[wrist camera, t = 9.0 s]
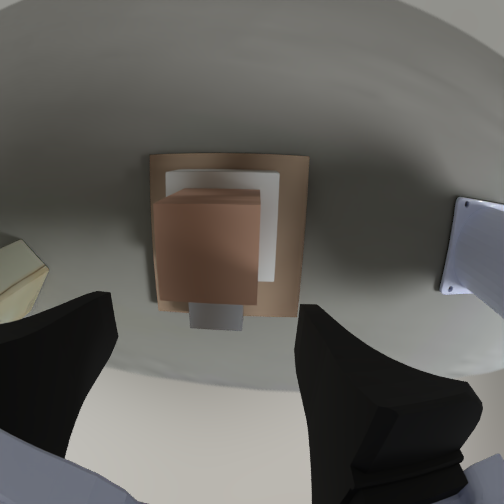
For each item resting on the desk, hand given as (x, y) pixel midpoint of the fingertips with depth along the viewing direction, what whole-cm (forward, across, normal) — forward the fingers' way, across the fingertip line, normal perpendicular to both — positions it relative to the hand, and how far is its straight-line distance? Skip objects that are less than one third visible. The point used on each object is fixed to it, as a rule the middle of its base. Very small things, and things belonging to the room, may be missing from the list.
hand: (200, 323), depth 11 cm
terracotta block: (+6, 0, -2) cm, 7 cm away
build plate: (+10, 0, 0) cm, 10 cm away
